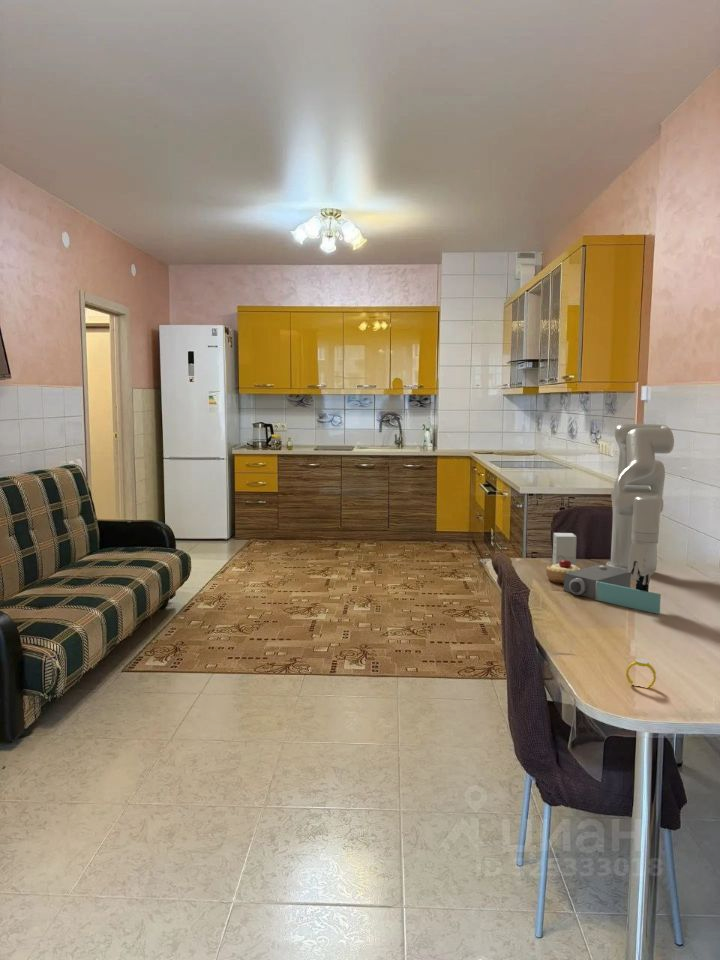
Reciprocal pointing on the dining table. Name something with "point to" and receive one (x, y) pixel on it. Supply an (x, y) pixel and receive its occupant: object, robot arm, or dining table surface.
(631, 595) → the side door
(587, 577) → the camera body
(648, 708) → the dining table surface
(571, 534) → the supplement box
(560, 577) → the pastry
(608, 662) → the dining table surface
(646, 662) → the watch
